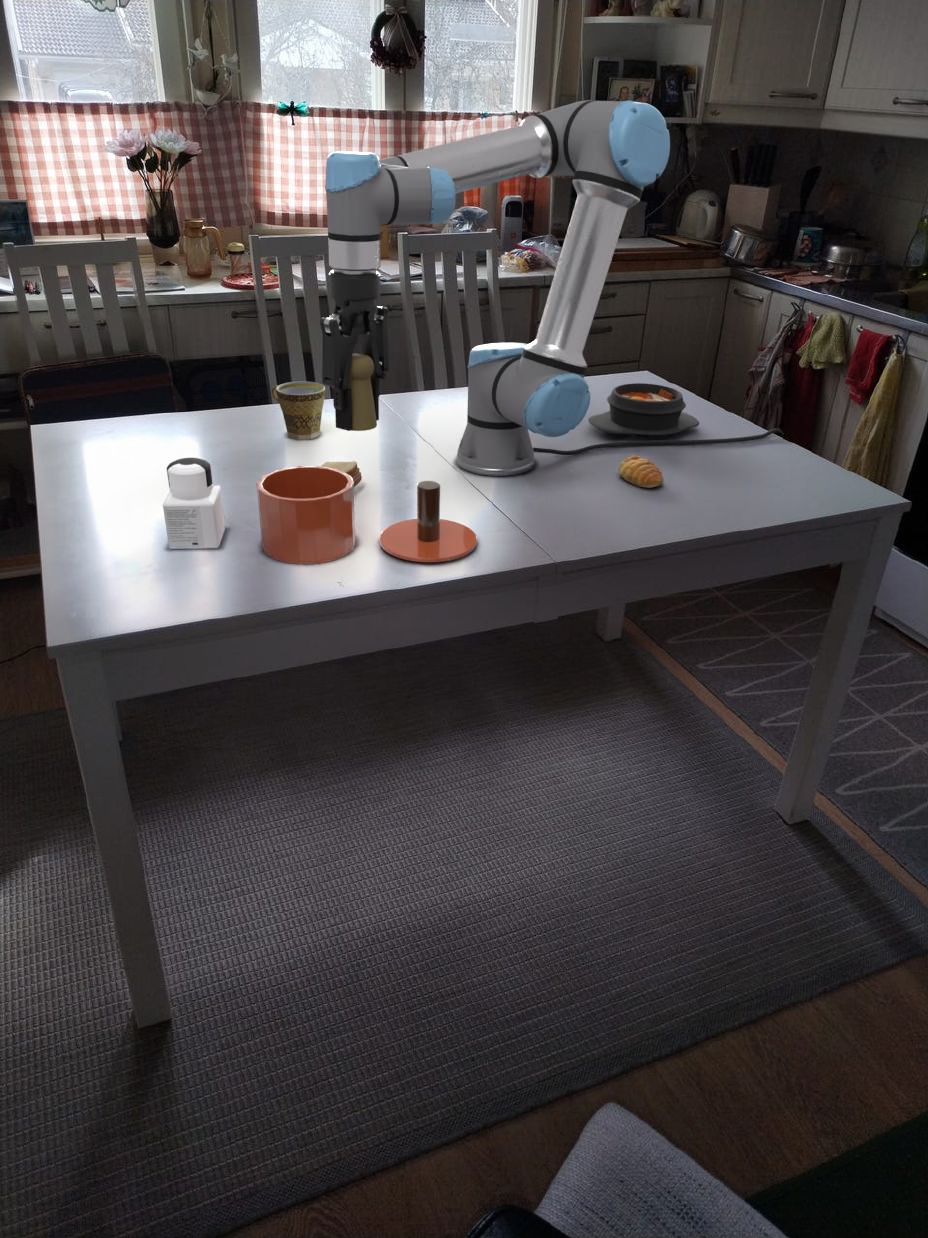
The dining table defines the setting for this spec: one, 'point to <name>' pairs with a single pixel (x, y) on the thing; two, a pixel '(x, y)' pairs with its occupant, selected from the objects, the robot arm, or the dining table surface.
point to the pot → (306, 514)
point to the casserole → (644, 411)
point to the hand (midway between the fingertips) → (357, 423)
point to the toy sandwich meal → (346, 469)
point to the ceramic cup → (301, 408)
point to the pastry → (640, 472)
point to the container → (193, 506)
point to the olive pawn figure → (362, 393)
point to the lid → (428, 532)
